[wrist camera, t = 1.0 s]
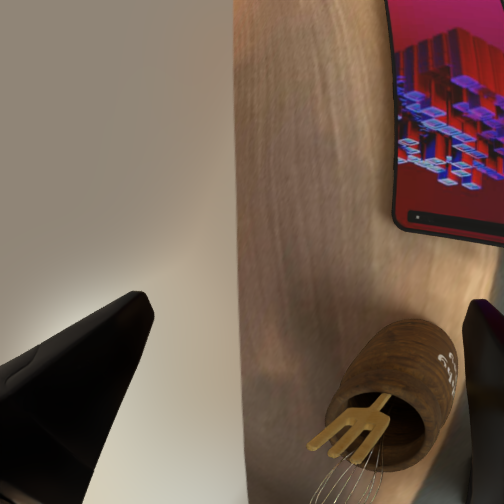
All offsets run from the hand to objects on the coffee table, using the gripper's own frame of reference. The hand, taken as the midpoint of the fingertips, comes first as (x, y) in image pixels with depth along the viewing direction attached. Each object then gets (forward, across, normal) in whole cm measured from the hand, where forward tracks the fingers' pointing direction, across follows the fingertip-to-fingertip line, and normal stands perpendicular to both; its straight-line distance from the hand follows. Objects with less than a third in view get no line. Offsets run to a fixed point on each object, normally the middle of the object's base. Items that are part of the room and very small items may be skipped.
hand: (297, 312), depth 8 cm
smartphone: (+11, -8, -4) cm, 14 cm away
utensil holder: (+6, -5, +10) cm, 13 cm away
